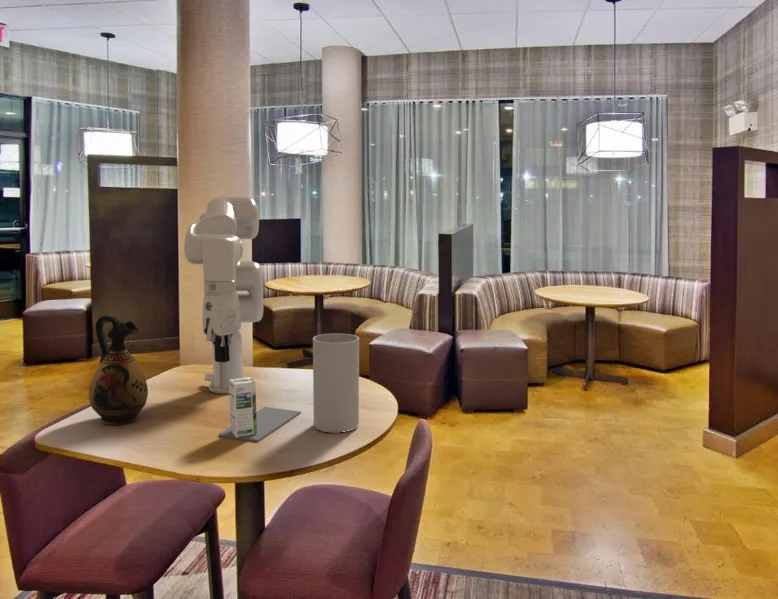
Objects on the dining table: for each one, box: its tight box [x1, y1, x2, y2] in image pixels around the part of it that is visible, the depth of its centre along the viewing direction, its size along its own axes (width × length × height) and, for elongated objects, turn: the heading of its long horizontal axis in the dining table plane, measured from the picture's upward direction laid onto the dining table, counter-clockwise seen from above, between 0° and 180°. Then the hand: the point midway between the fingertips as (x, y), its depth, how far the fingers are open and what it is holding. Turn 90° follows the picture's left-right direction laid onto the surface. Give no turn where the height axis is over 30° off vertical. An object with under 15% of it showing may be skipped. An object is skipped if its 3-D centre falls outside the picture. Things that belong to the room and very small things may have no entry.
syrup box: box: [228, 376, 257, 437], centre depth 167 cm, size 6×6×14 cm
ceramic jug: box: [88, 313, 149, 427], centre depth 177 cm, size 17×15×30 cm
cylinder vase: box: [312, 332, 360, 434], centre depth 174 cm, size 12×12×25 cm
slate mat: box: [218, 406, 302, 443], centre depth 176 cm, size 12×24×1 cm, turn 161°
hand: (222, 361), depth 156 cm, fingers closed
